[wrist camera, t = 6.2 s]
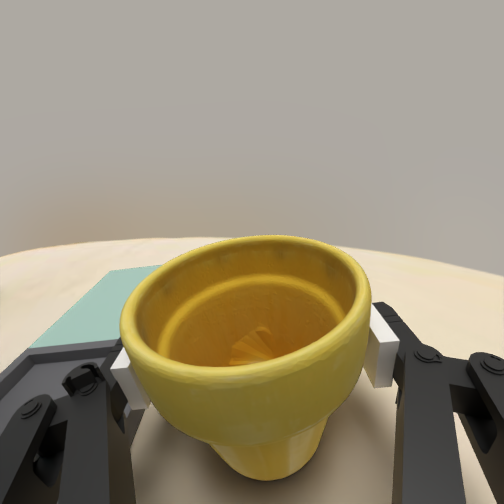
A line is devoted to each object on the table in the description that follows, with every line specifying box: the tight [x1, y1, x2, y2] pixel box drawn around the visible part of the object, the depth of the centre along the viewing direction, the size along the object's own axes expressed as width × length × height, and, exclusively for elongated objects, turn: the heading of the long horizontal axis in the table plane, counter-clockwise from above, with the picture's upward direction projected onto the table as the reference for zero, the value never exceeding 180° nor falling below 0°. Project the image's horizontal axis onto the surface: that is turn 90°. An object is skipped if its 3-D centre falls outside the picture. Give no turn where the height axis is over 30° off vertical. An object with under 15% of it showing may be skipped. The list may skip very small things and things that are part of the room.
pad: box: [29, 265, 162, 348], centre depth 28 cm, size 15×15×1 cm
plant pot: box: [119, 235, 371, 481], centre depth 13 cm, size 10×10×10 cm
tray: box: [0, 339, 145, 504], centre depth 15 cm, size 12×12×2 cm
